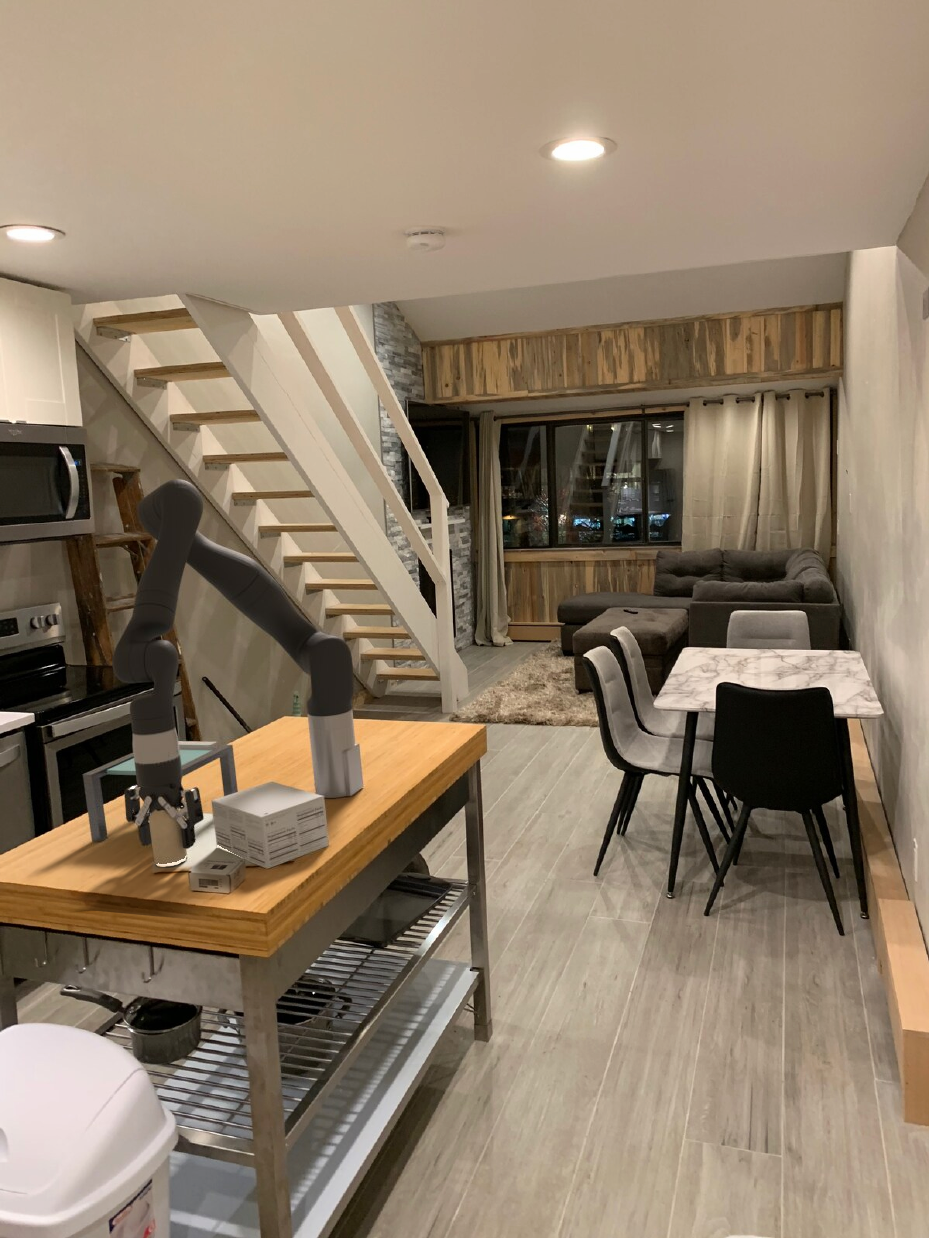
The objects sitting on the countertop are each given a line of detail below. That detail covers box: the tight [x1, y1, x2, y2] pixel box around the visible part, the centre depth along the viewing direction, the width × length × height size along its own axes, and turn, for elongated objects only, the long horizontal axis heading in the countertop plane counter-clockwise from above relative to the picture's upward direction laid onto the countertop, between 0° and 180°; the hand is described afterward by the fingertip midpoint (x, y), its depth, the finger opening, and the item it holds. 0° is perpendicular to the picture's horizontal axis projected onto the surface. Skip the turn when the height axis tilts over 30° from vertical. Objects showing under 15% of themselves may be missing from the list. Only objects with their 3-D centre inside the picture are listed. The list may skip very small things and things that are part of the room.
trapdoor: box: [107, 740, 219, 776], centre depth 182 cm, size 17×14×2 cm
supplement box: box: [210, 781, 330, 870], centre depth 165 cm, size 17×13×9 cm
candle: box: [148, 808, 188, 865], centre depth 161 cm, size 6×6×10 cm
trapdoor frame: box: [82, 744, 239, 843], centre depth 181 cm, size 21×19×13 cm
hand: (167, 845), depth 161 cm, fingers open, 8 cm apart
